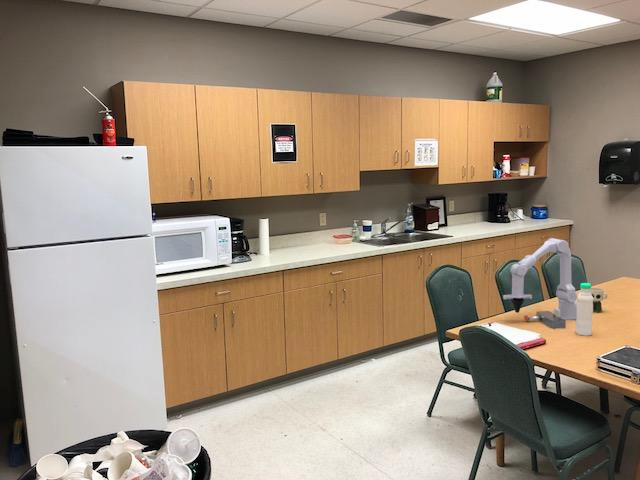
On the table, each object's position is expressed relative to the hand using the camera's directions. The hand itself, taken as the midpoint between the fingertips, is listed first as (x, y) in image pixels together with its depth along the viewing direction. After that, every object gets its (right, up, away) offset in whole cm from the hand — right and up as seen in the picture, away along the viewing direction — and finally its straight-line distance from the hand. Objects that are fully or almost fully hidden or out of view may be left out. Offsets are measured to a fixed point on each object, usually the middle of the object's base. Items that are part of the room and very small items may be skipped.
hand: (517, 312), depth 273 cm
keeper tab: (+18, -1, -8) cm, 19 cm away
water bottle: (+24, -8, -22) cm, 33 cm away
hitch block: (+16, -5, -3) cm, 17 cm away
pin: (+10, -5, +1) cm, 11 cm away
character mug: (+50, -2, +17) cm, 53 cm away
